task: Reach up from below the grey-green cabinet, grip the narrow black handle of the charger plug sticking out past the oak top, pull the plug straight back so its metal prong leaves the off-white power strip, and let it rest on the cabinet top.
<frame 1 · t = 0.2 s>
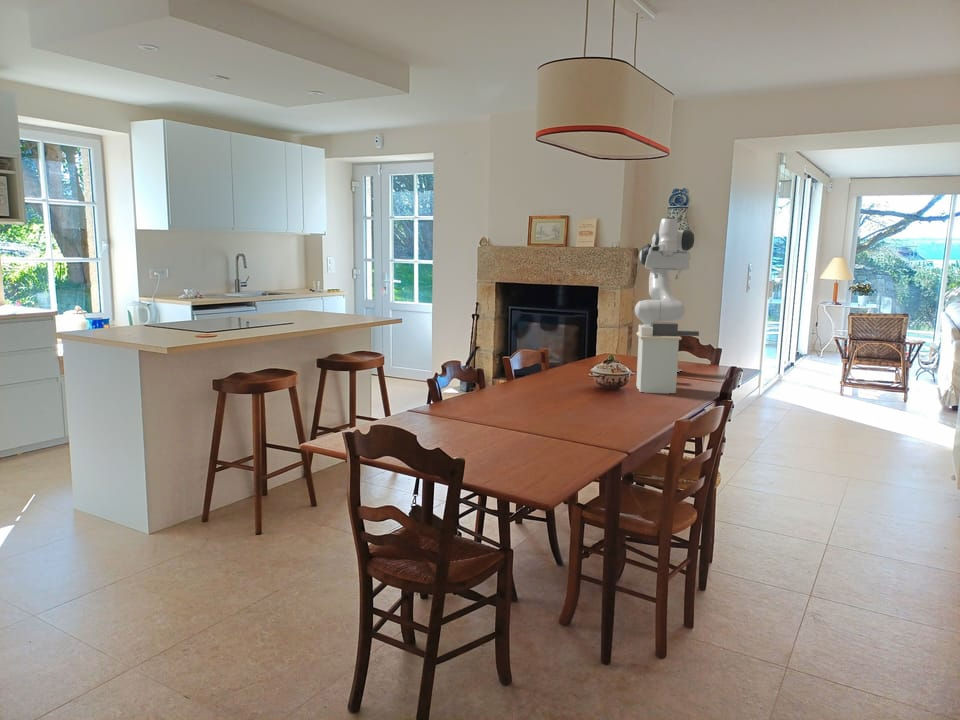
hand: (666, 278, 322), 52 cm above the table, tool tilted 20°, fingers open, 8 cm apart
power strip: (645, 330, 317), on the cabinet, point 28 cm above the table
charger plug: (671, 335, 316), point 26 cm above the table, touching cabinet
cabinet: (655, 389, 320), on the table
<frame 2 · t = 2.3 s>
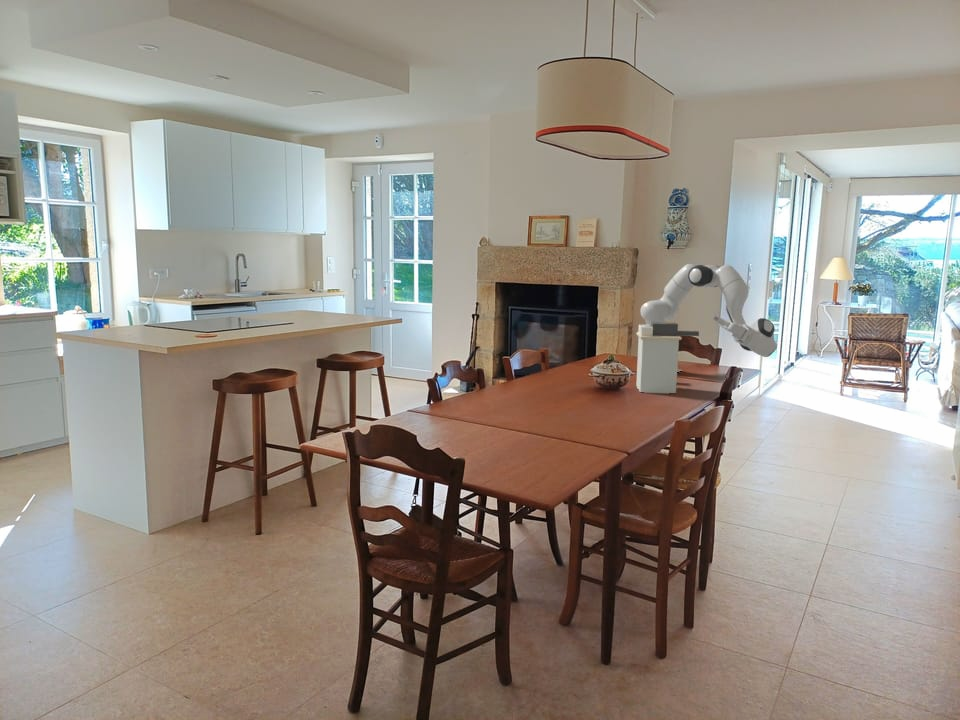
hand: (716, 318, 312), 34 cm above the table, tool pointing upward, fingers open, 8 cm apart
nothing on the table moved.
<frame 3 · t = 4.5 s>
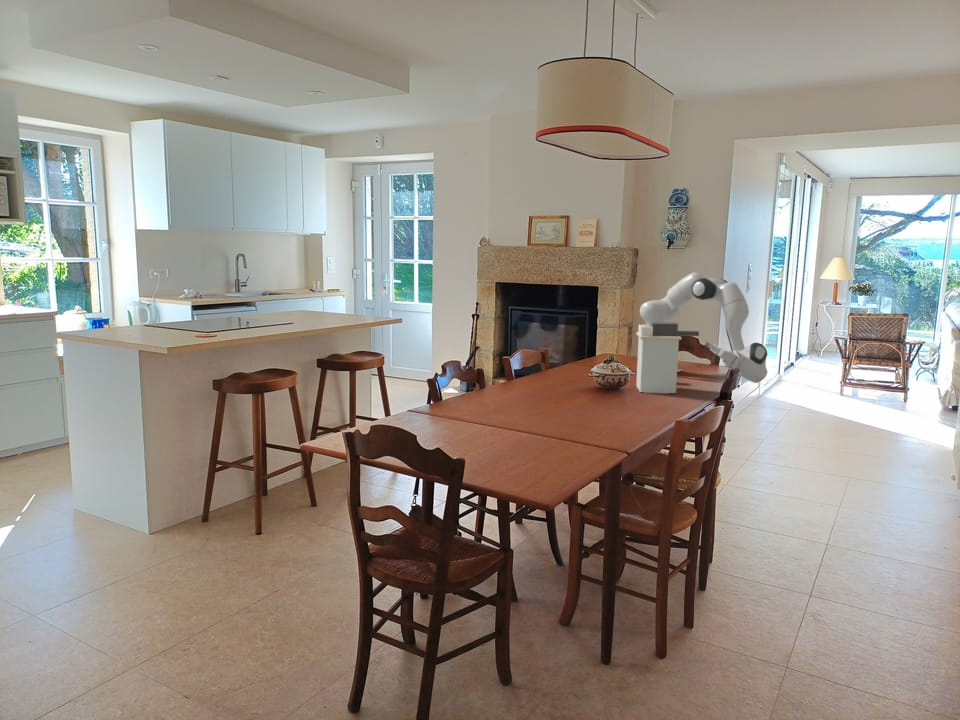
hand: (707, 344, 315), 22 cm above the table, tool pointing upward, fingers open, 8 cm apart
nothing on the table moved.
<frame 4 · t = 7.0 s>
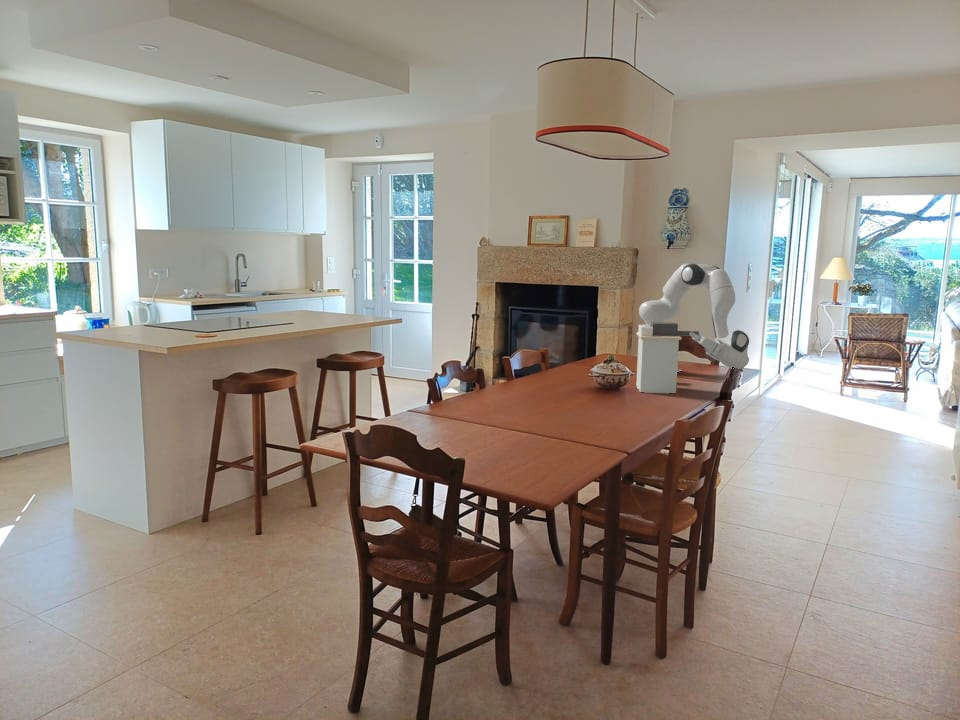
hand: (688, 332, 315), 27 cm above the table, tool pointing upward, fingers closed on charger plug, 2 cm apart
charger plug: (671, 335, 316), point 26 cm above the table, touching cabinet, gripper
everything else where it was.
when the fingers open (27 cm above the table, at t = 8.6 s): charger plug stays where it is, resting on cabinet.
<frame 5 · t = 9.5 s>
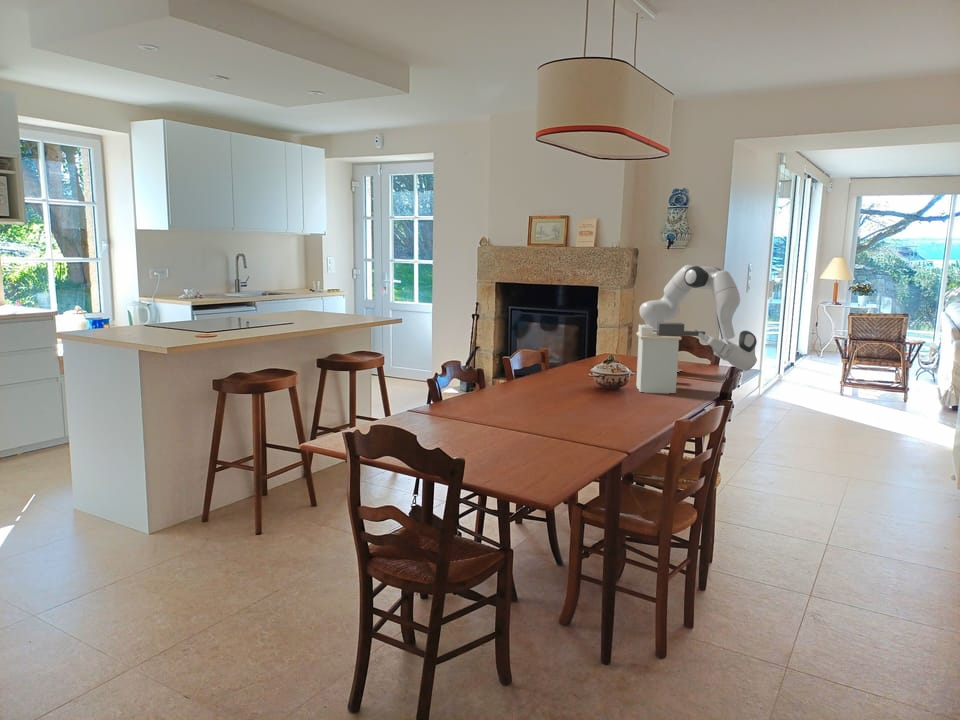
hand: (696, 332, 314), 27 cm above the table, tool pointing upward, fingers open, 8 cm apart
charger plug: (677, 335, 315), point 26 cm above the table, touching cabinet
everything else where it was.
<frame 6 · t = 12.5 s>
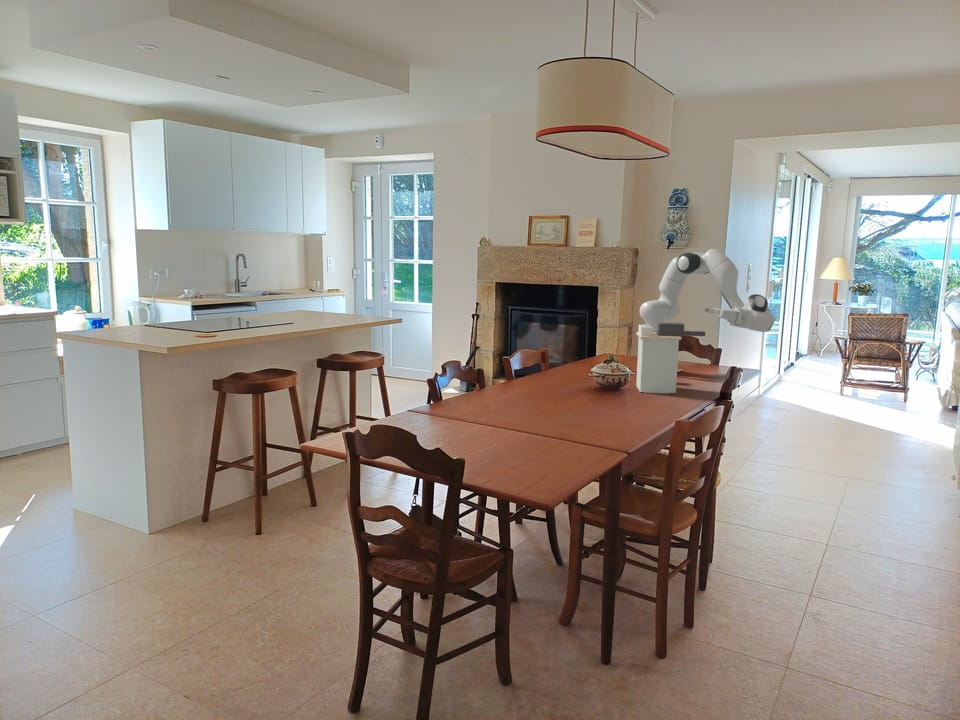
hand: (706, 309, 313), 38 cm above the table, tool horizontal, fingers open, 8 cm apart
nothing on the table moved.
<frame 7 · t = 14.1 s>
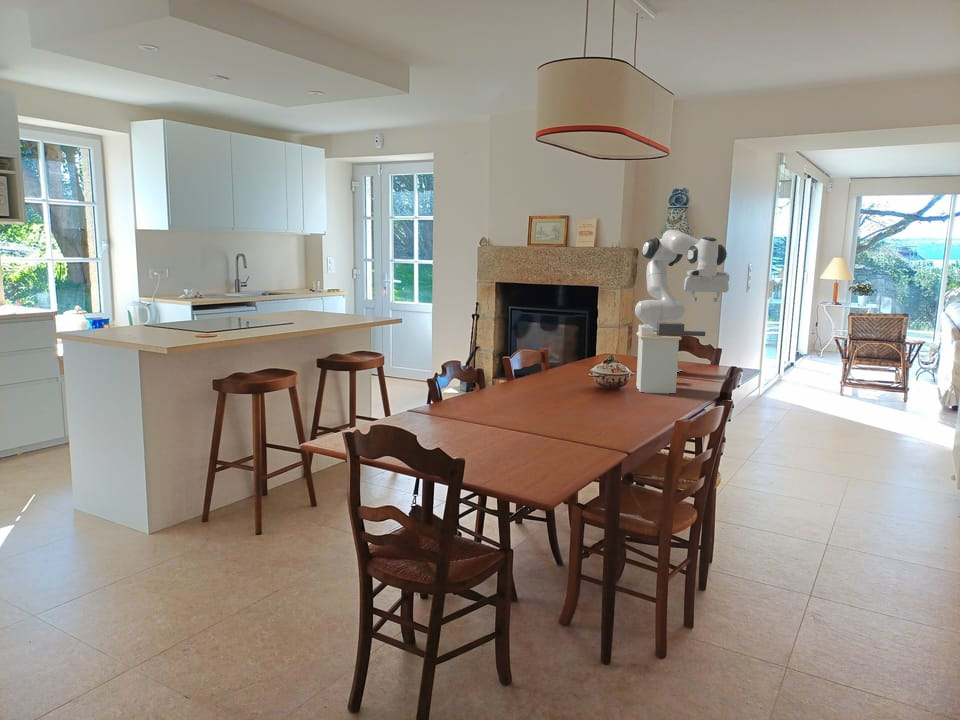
hand: (705, 301, 323), 41 cm above the table, tool pointing down, fingers open, 8 cm apart
nothing on the table moved.
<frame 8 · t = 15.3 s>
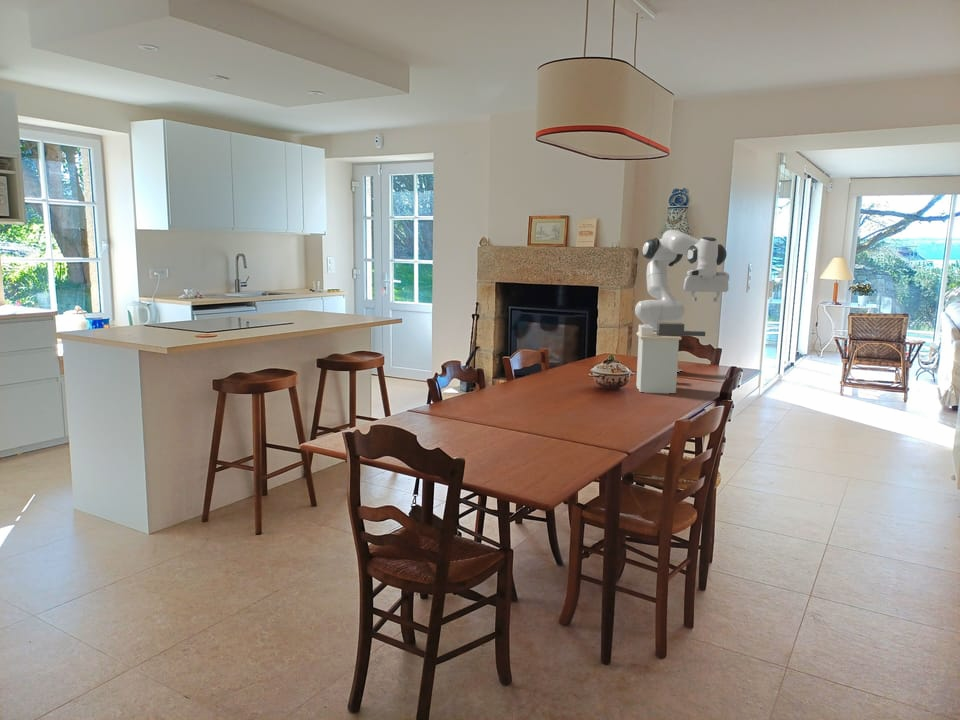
hand: (704, 301, 323), 41 cm above the table, tool pointing down, fingers open, 8 cm apart
nothing on the table moved.
at the end: charger plug 1.8 cm from the target spot on the cabinet, point 26.0 cm above the cabinet's base; charger plug touching cabinet; the gripper is holding nothing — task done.
